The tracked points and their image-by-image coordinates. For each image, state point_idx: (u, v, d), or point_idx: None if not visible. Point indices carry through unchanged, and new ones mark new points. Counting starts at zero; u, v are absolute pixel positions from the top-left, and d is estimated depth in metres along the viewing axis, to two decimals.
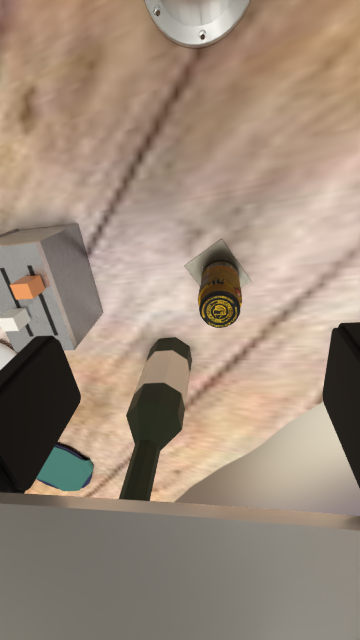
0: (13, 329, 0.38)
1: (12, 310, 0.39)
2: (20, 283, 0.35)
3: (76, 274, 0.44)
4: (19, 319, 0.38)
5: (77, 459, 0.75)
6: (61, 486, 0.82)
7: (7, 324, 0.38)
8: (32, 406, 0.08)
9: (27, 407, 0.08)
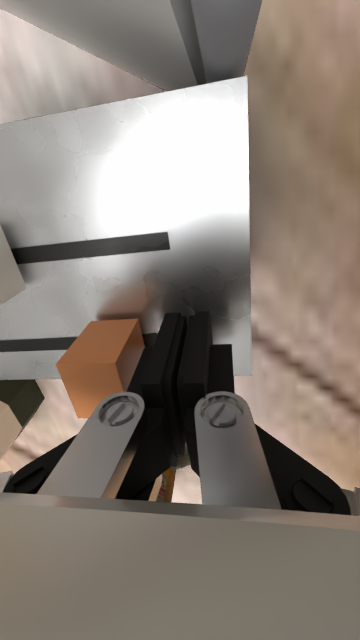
0: None
1: None
2: (126, 390, 0.10)
3: None
4: None
5: None
6: None
7: None
8: None
9: None
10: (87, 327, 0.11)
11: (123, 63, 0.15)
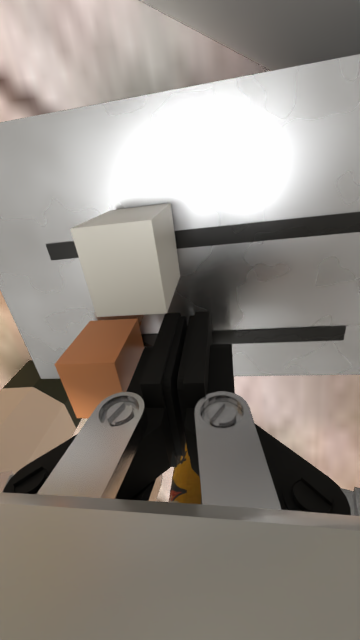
0: (98, 293, 0.08)
1: (170, 232, 0.09)
2: (125, 390, 0.10)
3: None
4: None
5: None
6: None
7: (120, 271, 0.07)
8: None
9: None
10: (86, 327, 0.11)
11: (242, 36, 0.14)
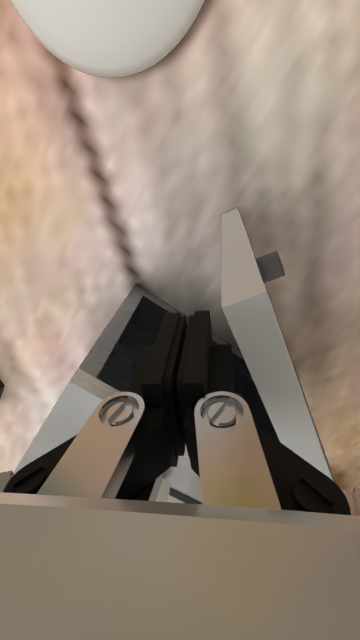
0: None
1: None
2: None
3: None
4: None
5: None
6: None
7: None
8: None
9: None
10: None
11: None
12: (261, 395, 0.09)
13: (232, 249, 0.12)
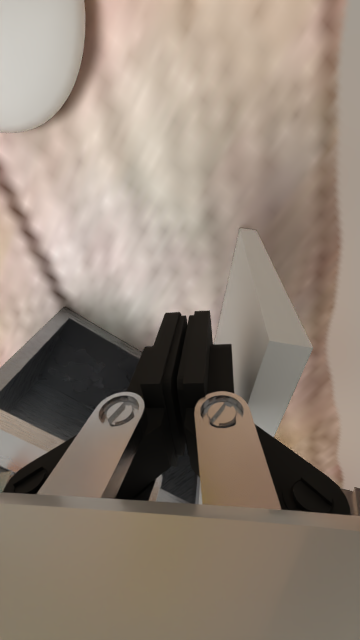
0: None
1: None
2: None
3: None
4: None
5: None
6: None
7: None
8: None
9: None
10: None
11: None
12: None
13: (263, 277, 0.12)
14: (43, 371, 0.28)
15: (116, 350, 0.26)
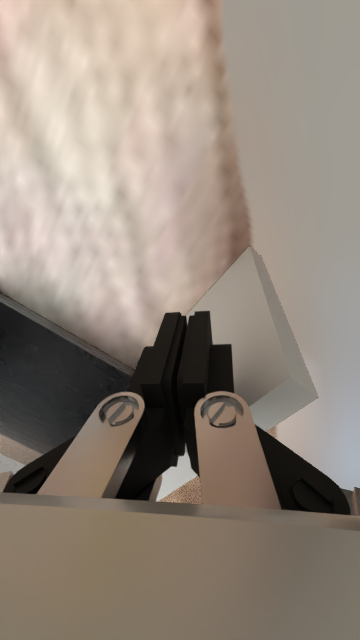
0: None
1: None
2: None
3: None
4: None
5: None
6: None
7: None
8: None
9: None
10: None
11: None
12: None
13: (275, 309, 0.13)
14: None
15: (46, 332, 0.26)
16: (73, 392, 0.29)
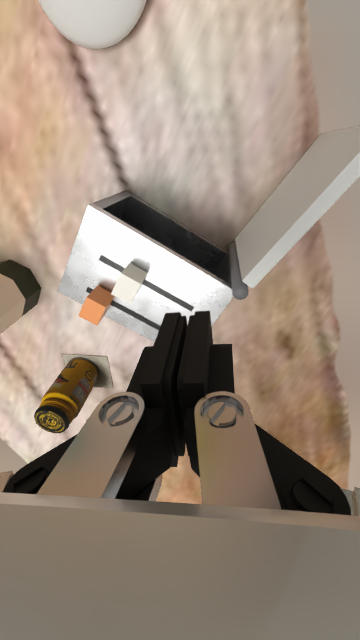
0: (116, 289, 0.26)
1: None
2: (101, 316, 0.28)
3: None
4: None
5: None
6: None
7: (125, 288, 0.26)
8: None
9: None
10: (96, 287, 0.29)
11: (262, 211, 0.33)
12: (345, 168, 0.20)
13: None
14: None
15: (164, 220, 0.36)
16: None
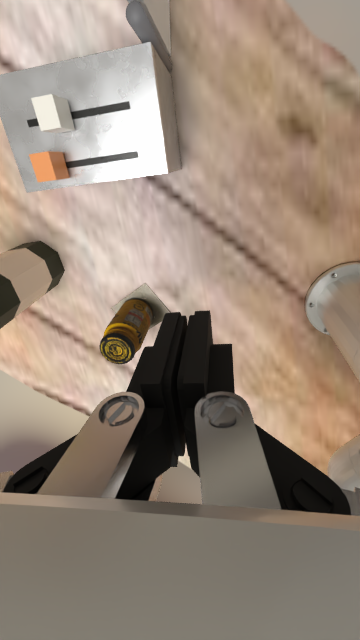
0: (40, 121, 0.25)
1: (66, 108, 0.27)
2: (53, 167, 0.27)
3: None
4: (58, 129, 0.26)
5: None
6: None
7: (46, 112, 0.25)
8: None
9: None
10: None
11: None
12: None
13: None
14: None
15: None
16: None
